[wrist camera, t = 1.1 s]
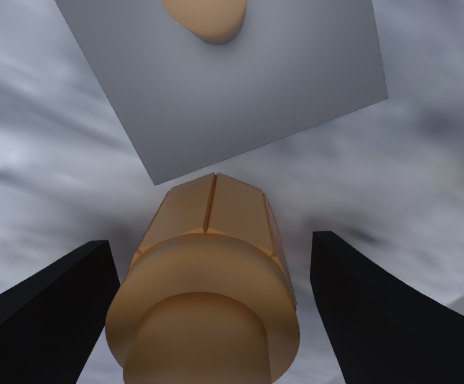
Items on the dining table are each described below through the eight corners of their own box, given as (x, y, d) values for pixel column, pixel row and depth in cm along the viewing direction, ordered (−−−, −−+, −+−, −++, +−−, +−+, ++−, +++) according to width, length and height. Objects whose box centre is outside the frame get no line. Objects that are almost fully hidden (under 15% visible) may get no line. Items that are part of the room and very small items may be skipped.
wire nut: (250, 158, 11) (266, 266, 5) (289, 258, 12) (333, 421, 7) (137, 200, 11) (37, 335, 6) (188, 288, 13) (151, 458, 7)
